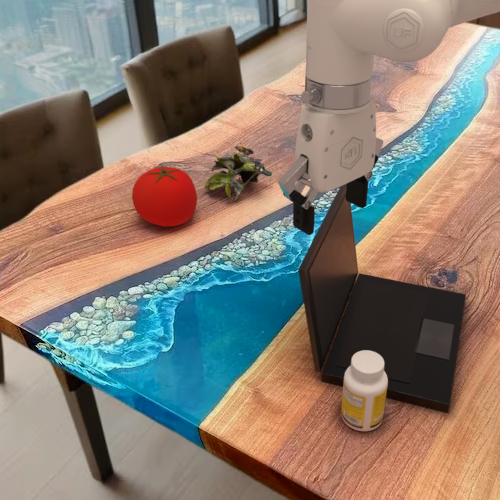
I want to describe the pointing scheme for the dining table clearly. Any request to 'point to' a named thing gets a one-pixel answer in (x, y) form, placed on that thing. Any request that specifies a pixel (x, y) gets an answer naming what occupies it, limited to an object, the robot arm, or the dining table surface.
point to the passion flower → (236, 171)
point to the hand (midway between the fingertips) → (330, 216)
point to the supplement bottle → (364, 391)
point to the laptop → (402, 338)
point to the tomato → (165, 196)
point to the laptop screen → (329, 276)
